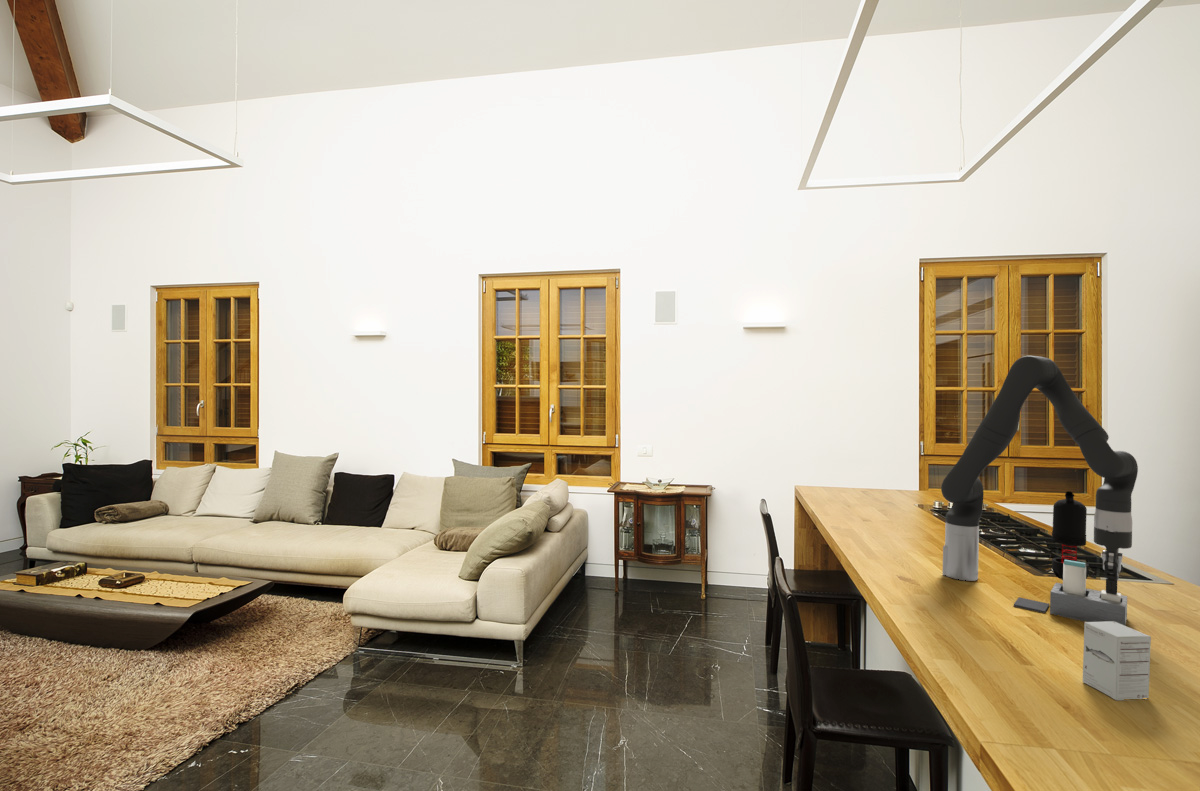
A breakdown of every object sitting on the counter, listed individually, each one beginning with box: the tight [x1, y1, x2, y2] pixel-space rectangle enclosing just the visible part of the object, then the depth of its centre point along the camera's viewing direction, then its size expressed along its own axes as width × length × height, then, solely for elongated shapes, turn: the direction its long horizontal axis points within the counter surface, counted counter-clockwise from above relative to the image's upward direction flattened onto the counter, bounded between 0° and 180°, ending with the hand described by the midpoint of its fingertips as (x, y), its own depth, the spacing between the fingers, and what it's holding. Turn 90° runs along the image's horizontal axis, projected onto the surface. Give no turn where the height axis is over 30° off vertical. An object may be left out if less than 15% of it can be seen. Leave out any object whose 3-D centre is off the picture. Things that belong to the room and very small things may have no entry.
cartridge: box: [1062, 560, 1087, 596], centre depth 157 cm, size 5×5×14 cm
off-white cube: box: [1100, 589, 1122, 602], centre depth 152 cm, size 4×4×5 cm
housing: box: [1049, 582, 1128, 626], centre depth 155 cm, size 15×11×6 cm
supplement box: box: [1082, 621, 1152, 701], centre depth 116 cm, size 7×7×13 cm
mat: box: [1013, 597, 1050, 614], centre depth 162 cm, size 7×8×1 cm
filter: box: [1051, 490, 1090, 581], centre depth 181 cm, size 14×9×30 cm
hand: (1111, 593), depth 152 cm, fingers closed
